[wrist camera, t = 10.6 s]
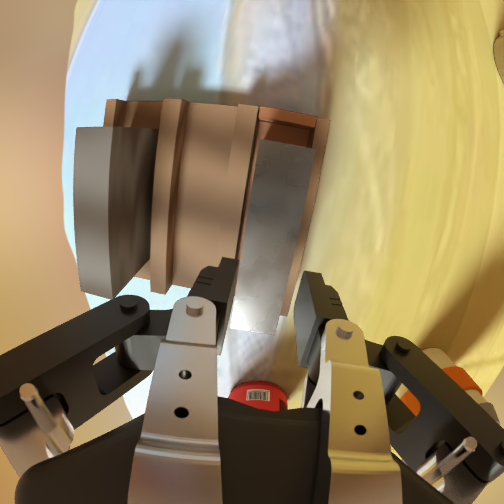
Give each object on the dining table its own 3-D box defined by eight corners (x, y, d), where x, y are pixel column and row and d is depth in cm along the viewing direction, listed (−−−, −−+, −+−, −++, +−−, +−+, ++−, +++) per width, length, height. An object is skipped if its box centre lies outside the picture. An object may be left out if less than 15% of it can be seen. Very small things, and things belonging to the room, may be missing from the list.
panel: (263, 140, 21) (259, 138, 14) (300, 147, 21) (315, 149, 14) (241, 275, 26) (230, 328, 19) (274, 280, 26) (274, 335, 19)
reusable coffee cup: (427, 324, 29) (482, 414, 15) (468, 352, 31) (512, 423, 17) (361, 388, 33) (384, 482, 19) (411, 406, 35) (437, 479, 21)
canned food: (216, 393, 35) (202, 460, 25) (263, 370, 33) (258, 446, 22) (253, 418, 37) (248, 481, 27) (298, 399, 34) (302, 467, 24)
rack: (125, 103, 22) (63, 93, 13) (322, 123, 22) (352, 112, 13) (118, 265, 29) (70, 311, 20) (285, 296, 28) (290, 361, 20)
